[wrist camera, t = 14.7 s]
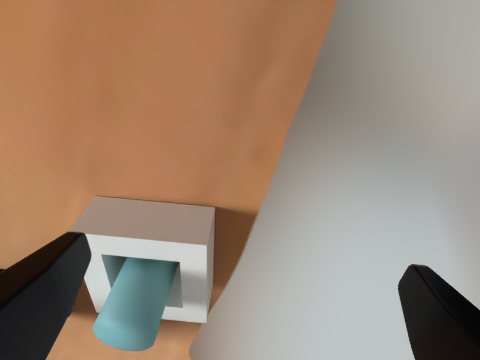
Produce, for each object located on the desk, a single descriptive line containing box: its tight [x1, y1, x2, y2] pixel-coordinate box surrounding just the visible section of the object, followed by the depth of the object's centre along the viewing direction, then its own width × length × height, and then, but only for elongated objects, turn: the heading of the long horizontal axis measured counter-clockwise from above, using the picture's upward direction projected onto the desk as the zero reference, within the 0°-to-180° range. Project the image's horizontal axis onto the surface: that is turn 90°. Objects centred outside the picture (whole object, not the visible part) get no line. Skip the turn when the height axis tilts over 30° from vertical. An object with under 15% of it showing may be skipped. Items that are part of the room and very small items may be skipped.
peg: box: [93, 257, 178, 351], centre depth 22 cm, size 4×4×8 cm
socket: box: [68, 196, 215, 323], centre depth 24 cm, size 9×9×4 cm
